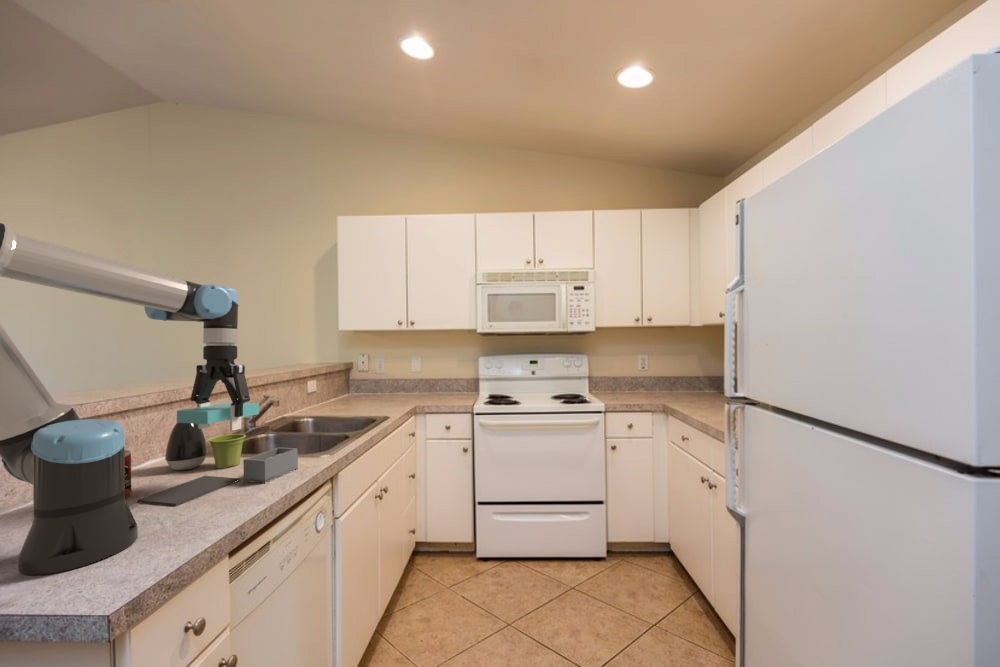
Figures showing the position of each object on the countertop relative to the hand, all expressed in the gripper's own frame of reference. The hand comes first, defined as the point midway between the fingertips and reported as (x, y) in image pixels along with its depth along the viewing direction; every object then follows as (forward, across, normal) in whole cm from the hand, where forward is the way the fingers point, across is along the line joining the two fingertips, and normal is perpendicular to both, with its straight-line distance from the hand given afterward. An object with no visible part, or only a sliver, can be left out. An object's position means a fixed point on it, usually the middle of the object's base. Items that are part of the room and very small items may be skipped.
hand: (219, 428), depth 107 cm
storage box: (+15, -7, -10) cm, 19 cm away
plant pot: (+15, +14, -15) cm, 25 cm away
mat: (+15, +4, +4) cm, 16 cm away
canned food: (+16, +19, +12) cm, 28 cm away
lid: (-3, 0, 0) cm, 3 cm away
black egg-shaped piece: (+15, +25, -10) cm, 31 cm away
